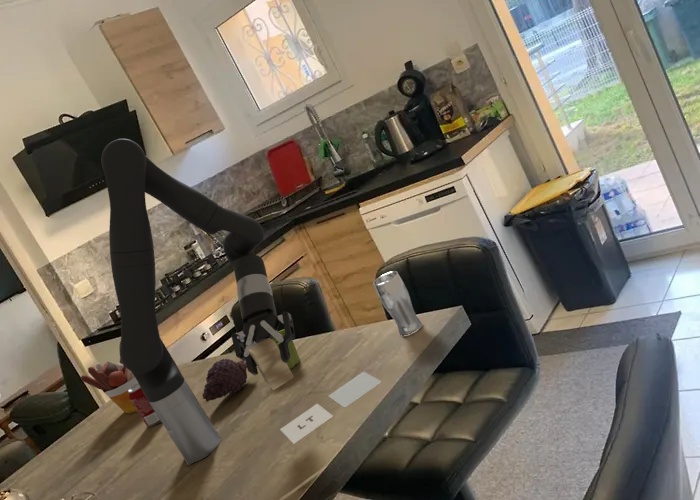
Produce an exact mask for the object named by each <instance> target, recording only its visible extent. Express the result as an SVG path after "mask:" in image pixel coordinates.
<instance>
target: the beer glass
mask: <svg viewBox="0 0 700 500" xmlns="http://www.w3.org/2000/svg"><path fill="white" fill-rule="evenodd" d="M372 284H373V287H374V290H375V291H376V294H377V296H378V298H379V300H380V302H381V304H382V305H383V307H384V308H385V310H386V311H387V312H388V313H389V315H390V317H392V319H393V320H394V322H395V324H396V326H397V329H398V332H399V335H400V336H401V335H402V336H404V335H408V334H411V333H412V332H414V331H416V330H417V329H419V328H420V327H421V325H422V326H423V323H422V321H421V320H420V318H419V317H418V316H417V314H416V312H415V309H414V307H413V304H412V300H411V296H410V294H409V291H408V289H407V287H406V285H405V283H404V281H403V279H402V277H401V276H400V274H399V272H398V271H397V270H393V271H388V272H386V273H384V274H382V275H380V276H379V277H377V278H376V279H375V280H374V281H373V283H372ZM402 336H401V337H402Z"/></svg>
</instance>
